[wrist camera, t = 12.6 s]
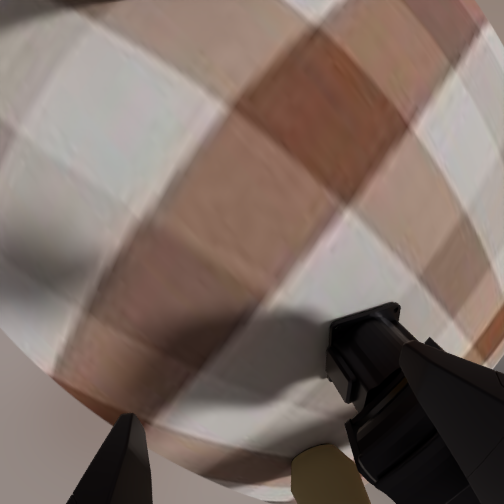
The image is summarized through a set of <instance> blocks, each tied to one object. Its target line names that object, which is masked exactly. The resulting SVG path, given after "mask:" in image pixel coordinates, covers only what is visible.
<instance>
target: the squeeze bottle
mask: <svg viewBox="0 0 504 504" xmlns="http://www.w3.org/2000/svg"><path fill="white" fill-rule="evenodd" d="M291 492H292V494H293V496H294V498H295V500H296V501H297V503H298V504H371V502H370V500H369V497H368V495H367V492H366V490H365V487H364V484H363V482H362V479H361V477H360V474H359V472H358V470H357V467H356V464H355V463H354V462H353V461H352V460H351V459H350V458H349V457H347V456H346V455H345V454H344V453H343V452H342V451H340V450H339V449H338V448H337V447H336V446H335V445H331V444H326V445H320V446H316V447H313V448H310V449H308V450H306V451H304V452H302V453H301V454H299V455H298V456H297V457H295V458H294V460H293V461H292V463H291Z"/></svg>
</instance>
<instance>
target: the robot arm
mask: <svg viewBox="0 0 504 504" xmlns="http://www.w3.org/2000/svg"><path fill="white" fill-rule="evenodd" d="M400 309H401V306H400V305H399V304H398V303H396V302H395V303H392V304H389V305H386V306H383V307H380V308H377V309H373V310H370V311H367V312H364V313H361V314H358V315H354V316H351V317H348V318H344V319H341V320H338V321H335V322H333V323H332V324H331V325H330V333H329V347H328V349H327V354H326V372H327V378H328V380H329V381H330V382H333V384H334V385H335V387H336V388H337V390H338V392H339V393H340V395H341V397H342V398H343V400H344V402H345V403H347V404H349V403H353V405H354V406H355V408H356V409H357V411H358V414H356V415H355V416H354V417H353V418H352V419H349V420H348V421H347V422H346V423H345V428H346V431H347V435H348V439H349V442H350V446H351V449H352V453H353V456H354V460H355V463H356V467H357V470H358V472H359V473H361V474H362V476H363V477H364V478H365V479H366V480H367V481H368V482H370V483H371V484H372V485H374V486H375V487H376V488H377V489H379V490H380V491H382V492H384V493H385V494H386V495H387V496H388V497H390V498H391V499H392V500H393V501H394V502H395V503H396V504H504V374H503V373H501V372H498V371H494V370H492V369H490V368H487V367H484V366H482V365H479V364H476V363H473V362H471V361H468V360H465V359H463V358H460V357H457V356H455V355H452V354H450V353H447V352H445V351H444V350H443V349H442V348H441V347H440V346H439V345H438V344H437V343H436V342H434V341H433V340H432V339H431V338H430V337H429V338H428V339H427V341H426V342H425V344H423V343H421V342H419V341H418V340H417V339H416V338H415V337H414V336H413V335H412V334H411V333H410V332H409V331H407V330H406V329H405V328H404V327H403V326H402V325H401V324H400V323H399V322H398V321H399V315H400ZM336 327H337V328H336ZM335 328H336V329H335ZM152 502H153V501H152V482H151V470H150V464H149V457H148V450H147V443H146V435H145V430H144V428H143V426H142V424H141V423H140V421H139V420H138V418H137V416H136V415H135V414H134V413H124V414H121V415H120V417H119V418H118V420H117V422H116V423H115V425H114V426H113V428H112V429H111V431H110V433H109V435H108V436H107V438H106V439H105V441H104V443H103V444H102V446H101V447H100V449H99V451H98V452H97V454H96V455H95V457H94V459H93V460H92V462H91V463H90V465H89V467H88V469H87V470H86V472H85V474H84V475H83V477H82V478H81V480H80V482H79V483H78V485H77V487H76V489H75V490H74V492H73V495H71V496H70V498H69V500H68V501H67V503H66V504H153V503H152Z"/></svg>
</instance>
